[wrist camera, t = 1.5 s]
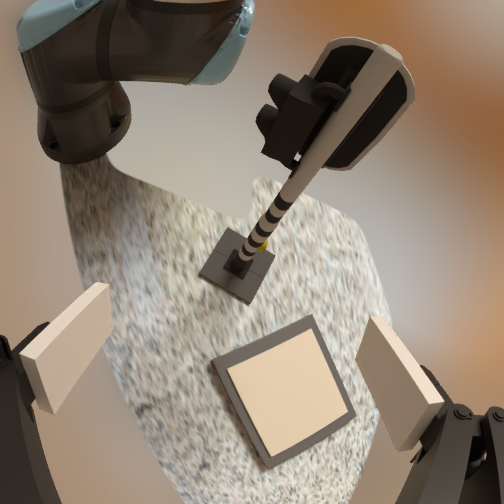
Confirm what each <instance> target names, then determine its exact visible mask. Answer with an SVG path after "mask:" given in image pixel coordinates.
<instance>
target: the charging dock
mask: <svg viewBox="0 0 504 504" xmlns="http://www.w3.org/2000/svg"><path fill="white" fill-rule="evenodd" d="M212 362H213V364H214V366H215V369H216V371H217V373H218V375H219V377H220V379H221V381H222V383H223V386H224V388H225V390H226V392H227V394H228V396H229V398H230V400H231V402H232V404H233V406H234V408H235V410H236V412H237V414H238V416H239V418H240V420H241V422H242V424H243V426H244V428H245V430H246V432H247V434H248V435H249V437H250V439H251V441H252V443H253V445H254V447H255V449H256V450H257V452H258V454H259V456H260V458H261V459H262V461H263V463H264V465H265V466H266V467H267V469H270V468H272V467H274V466H276V465H277V464H279V463H281V462H283V461H285V460H287V459H289V458H291V457H292V456H294V455H296V454H298V453H300V452H301V451H303V450H305V449H307V448H308V447H310V446H312V445H313V444H315V443H317V442H318V441H320V440H321V439H323V438H325V437H326V436H328V435H329V434H331V433H333V432H334V431H336V430H337V429H339V428H340V427H342V426H343V425H345V424H346V423H348V422H349V421H350V420H352V419H353V418H355V417H356V413H355V411H354V409H353V406H352V404H351V402H350V399H349V397H348V394H347V392H346V390H345V387H344V385H343V383H342V381H341V378H340V376H339V374H338V371H337V369H336V367H335V364H334V362H333V360H332V358H331V355H330V353H329V351H328V349H327V346H326V344H325V342H324V340H323V337H322V335H321V333H320V331H319V329H318V326H317V324H316V322H315V320H314V317H313V315H312V314H311V315H308V316H306V317H304V318H302V319H300V320H298V321H296V322H294V323H292V324H290V325H288V326H286V327H284V328H281V329H279V330H277V331H275V332H273V333H271V334H269V335H267V336H265V337H262V338H260V339H258V340H256V341H254V342H251V343H249V344H247V345H245V346H242V347H240V348H238V349H236V350H233V351H231V352H229V353H226V354H224V355H222V356H219V357H217V358H215V359H212Z"/></svg>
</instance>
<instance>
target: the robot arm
mask: <svg viewBox="0 0 504 504" xmlns="http://www.w3.org/2000/svg"><path fill="white" fill-rule="evenodd" d="M254 12H255V3H254V1H253V0H38V1H36V2H35V3H34V4H33V5H31V6H30V7H29V8H28V9H27V10H26V11H25V12H24V13H23V14H22V16H21V17H20V19H19V21H18V23H17V36H18V42H19V47H18V50H19V52H20V53H21V57H22V60H23V64H24V67H25V70H26V73H27V76H28V79H29V82H30V85H31V88H32V91H33V93H34V96H35V99H36V101H37V105H38V123H37V127H38V129H37V130H38V131H37V132H38V138H39V141H40V144H41V146H42V148H43V150H44V152H45V153H46V154H47V156H48V157H50V158H51V159H53V160H55V161H57V162H60V163H67V164H74V163H81V162H86V161H89V160H92V159H95V158H97V157H99V156H101V155H103V154H105V153H106V152H108V151H109V150H111V149H112V148H113V147H114V146H116V145H117V144H118V143H119V142H120V141H121V140H122V138H123V137H124V136H125V134H126V133H127V131H128V129H129V126H130V123H131V105H130V101H129V99H128V96H127V94H126V93H125V91H124V89H123V87H122V86H121V84H120V82H119V81H146V82H165V83H178V84H183V85H191V84H201V85H214V84H217V83H221V82H222V81H224V80H225V79H226V78H227V77H228V76H229V74H230V73H231V71H232V70H233V68H234V66H235V65H236V63H237V61H238V59H239V56H240V54H241V52H242V49H243V47H244V45H245V42H246V39H247V33H248V32H249V29H250V27H251V24H252V21H253V17H254ZM112 332H113V327H112V316H111V303H110V286H109V284H105V283H100V282H96V283H95V284H93V285H92V286H91V287H90V288H89V289H88V290H86V291H85V292H84V293H83V294H82V295H81V296H80V297H79V298H77V299H76V300H75V301H74V302H73V303H72V304H71V305H70V306H69V307H67V308H66V309H65V310H64V311H63V312H62V313H61V314H60V315H59V316H58V317H57V318H55V319H54V320H53V321H52V322H51V323H50V322H46V323H43V324H41V325H39V326H37V327H36V328H35V329H34V330H33V331H32V332H31V333H30V334H29V335H28V336H27V337H26V338H25V339H24V340H22V341H21V342H20V343H19V344H18V345H17V346H16V347H15V348H14V349H13V350H12V351H11V349H10V346H9V343H8V340H7V338H6V337H5V336H3V335H0V504H62V503H61V501H60V498H59V495H58V493H57V490H56V488H55V485H54V482H53V479H52V477H51V474H50V471H49V468H48V464H47V462H46V458H45V455H44V451H43V448H42V444H41V440H40V437H39V433H38V429H37V425H36V420H35V415H34V410H33V408H32V406H31V404H32V402H33V401H34V400H35V399H36V401H37V404H38V406H39V408H40V409H41V410H44V411H46V412H48V413H51V414H53V415H55V414H56V412H57V411H58V409H59V408H60V406H61V405H62V403H63V402H64V400H65V399H66V397H67V396H68V394H69V393H70V391H71V390H72V388H73V387H74V385H75V384H76V382H77V381H78V379H79V378H80V377H81V375H82V374H83V372H84V371H85V369H86V368H87V366H88V365H89V364H90V362H91V361H92V359H93V358H94V356H95V355H96V354H97V352H98V351H99V350H100V348H101V347H102V345H103V344H104V343H105V341H106V340H107V338H108V337H109V336H110V334H111V333H112ZM355 361H356V363H357V365H358V367H359V369H360V371H361V373H362V376H363V378H364V380H365V382H366V384H367V386H368V388H369V390H370V393H371V395H372V397H373V399H374V401H375V403H376V406H377V408H378V410H379V412H380V414H381V417H382V419H383V421H384V423H385V426H386V428H387V430H388V432H389V435H390V437H391V439H392V441H393V444H394V446H395V449H396V451H397V452H400V451H406V450H411V449H413V448H414V446H415V445H416V444H417V442H418V441H419V440H420V442H421V444H422V447H421V449H420V450H419V451H418V452H417V454H416V455H415V456H414V458H413V459H412V460H411V461H410V463H412V462H413V461H414V460H415V461H414V464H413V466H412V468H411V471H410V473H409V475H408V478H407V480H406V482H405V484H404V487H403V489H402V491H401V493H400V495H399V497H398V499H397V501H396V503H395V504H504V409H502V408H500V407H490V408H489V409H488V411H487V412H486V414H485V415H484V416H482V415H474V414H473V412H472V411H471V410H470V409H469V408H468V407H466V406H464V405H462V404H454V403H453V402H452V401H451V399H450V398H449V396H448V395H447V394H446V392H445V391H444V389H443V388H442V386H440V384H439V382H438V381H437V380H436V378H435V377H434V375H433V374H432V373H431V371H429V370H428V369H427V368H425V367H424V366H423V365H419V364H418V363H417V362H416V360H415V359H414V358H413V356H412V355H411V354H410V352H409V351H408V349H407V348H406V347H405V345H404V344H403V343H402V341H401V340H400V339H399V338H398V337H397V335H396V334H395V332H394V331H393V330H392V328H391V327H390V326H389V324H388V323H387V322H386V321H385V319H384V318H383V317H374V316H370V318H369V321H368V324H367V327H366V330H365V333H364V336H363V339H362V342H361V345H360V347H359V350H358V353H357V356H356V359H355ZM486 452H487V456H486V460H485V459H484V455H485V453H486Z"/></svg>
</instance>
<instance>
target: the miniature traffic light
mask: <svg viewBox="0 0 504 504" xmlns="http://www.w3.org/2000/svg"><path fill="white" fill-rule="evenodd" d="M268 92H269V94H270V96H271V98H272V100H273V102H274V103H275V105H276V106H277V108H278V109H276V108H275V107H273V106H271V105H268V104H265V105H264V106H263V107H262V109H261V110H260V112H259V113H258V115H257V117H256V124H257V126H258V128H259V130H260V132H261V133H262V134H263V136H264V137H265V145H264V147H263V149H262V151H261V153H263V154H264V155H266V156H268V157H270V158H272V159H275V160H278V161H280V162H281V163H282V164H283V165H284V166H285V167H287V168H288V169H290V170H292V172H291V174H290V176H289V178H288V180H287V181H286V183H285V184H284V186H283V187H282V189H281V190H280V192H279V193H278V195H277V196H276V198H275V199H274V201H273V202H272V204H271V205H270V207H269V209H268V210H267V212H266V213H264V214H263V215H262V216H261V218H260V219H259V221H258V222H257V224H256V225H255V227H254V229H253V230H252V232H251V233H250V235H249V236H248V238H245V237H243V236H242V235H240V234H238V233H237V232H235V231H233V230H232V229H230V228H227V229H226V231H225V233H224V234H223V236H222V237H221V239H220V241H219V242H218V244H217V245H216V247H215V249H214V250H213V252H212V254H211V255H210V257H209V258H208V260H207V262H206V263H205V265H204V267H203V268H202V270H201V271H200V273H199V274H200V275H202V276H203V277H205V278H207V279H208V280H210V281H212V282H213V283H215V284H217V285H219V286H220V287H222V288H224V289H225V290H227V291H229V292H231V293H232V294H234V295H236V296H238V297H239V298H241V299H243V300H245V301H246V302H248V303H251V302H252V300H253V298H254V296H255V294H256V292H257V290H258V288H259V287H260V285H261V283H262V281H263V279H264V277H265V275H266V273H267V271H268V269H269V267H270V265H271V263H272V262H273V260H274V258H275V255H274V254H272V253H270V252H269V251H267V250H265V249H266V247H267V241H266V240H267V238H268V237H269V236H270V235H271V233H272V232H273V231H274V230H275V228H276V227H277V226H278V223H279V221H280V219H281V218H282V217H283V215H284V214H285V213H286V212H287V210H288V209H289V208H290V207H291V205H292V204H293V203H294V201H295V200H296V199H297V198H298V196H299V195H300V194H301V193H302V191H303V190H304V189H305V187H306V186H307V185H308V184H309V182H310V181H311V180H312V178H313V177H314V176H315V175H316V173H317V172H318V171H319V170H320V168H323V167H324V168H327V169H330V170H338V171H345V170H351V169H352V168H353V167H354V166H355V165H356V164H357V163H358V162H359V161H360V160H361V159H362V158H363V157H364V156H365V155H366V154H367V153H368V152H369V151H370V150H371V149H372V148H373V147H374V146H375V145H376V144H377V143H379V141H380V140H381V139H382V138H383V137H384V136H385V135H386V134H387V132H388V131H389V130H390V129H391V128H392V127H393V125H394V124H395V123H396V122H397V120H398V119H399V118H400V117H401V116H402V115H403V113H404V112H405V111H406V110H407V108H408V107H409V106H410V105H411V104H412V102H413V101H414V100H415V85H414V82H413V79H412V76H411V74H410V72H409V71H408V69H407V68H406V67H405V65H404V64H403V58H402V56H401V55H400V54H399V53H398V52H397V51H396V50H395V49H393V48H392V47H390V46H388V45H386V44H377V43H375V42H373V41H370V40H367V39H363V38H358V37H340V38H337V39H335V40H332V41H330V42H329V43H328V44H327V46H326V47H325V49H324V51H323V52H322V54H321V55H320V57H319V59H318V61H317V62H316V64H315V65H314V67H313V69H312V70H311V72H310V74H309V76H308V75H304V76H303V77H302V79H301V80H300V81H299V82H296V81H294V80H292V79H290V78H288V77H286V76H284V75H282V74H278V75H276V76H275V77H274V79H273V80H272V81H271V83H270V85H269V89H268ZM297 152H298V154H299V155H301V158H300V160H299V161H296V160H294V157H295V155H296V154H297ZM229 280H230V281H229ZM225 287H226V288H225Z"/></svg>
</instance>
